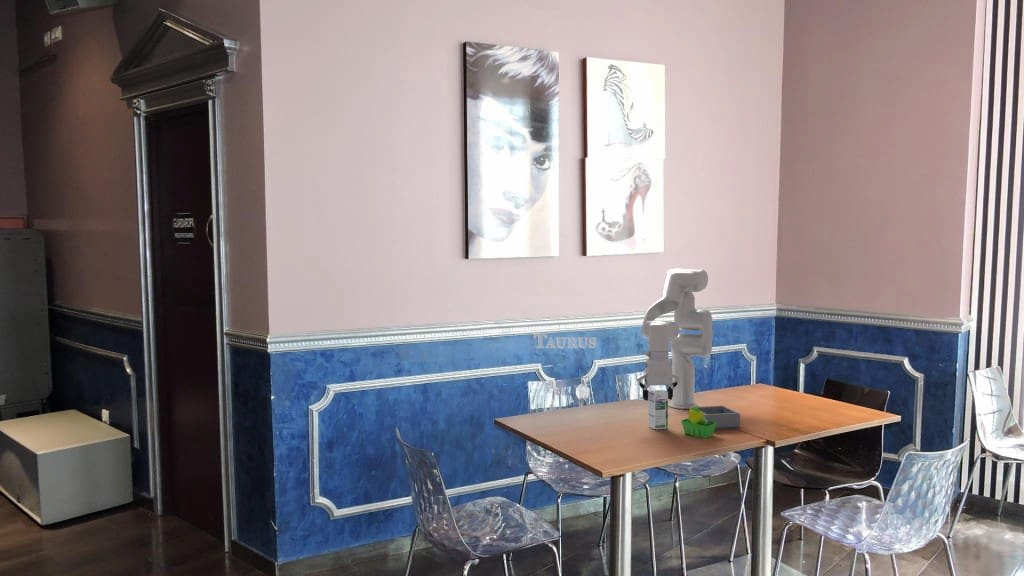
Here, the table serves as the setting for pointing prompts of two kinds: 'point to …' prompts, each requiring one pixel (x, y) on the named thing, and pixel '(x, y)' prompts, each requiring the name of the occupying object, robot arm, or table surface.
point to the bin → (721, 417)
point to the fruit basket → (698, 424)
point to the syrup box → (658, 409)
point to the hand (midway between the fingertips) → (657, 399)
